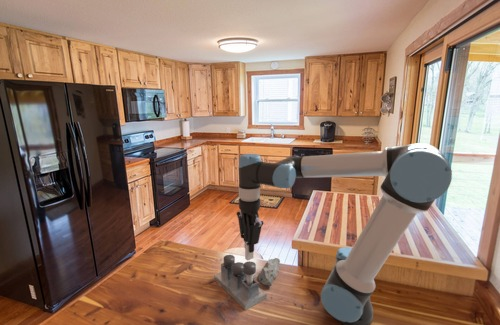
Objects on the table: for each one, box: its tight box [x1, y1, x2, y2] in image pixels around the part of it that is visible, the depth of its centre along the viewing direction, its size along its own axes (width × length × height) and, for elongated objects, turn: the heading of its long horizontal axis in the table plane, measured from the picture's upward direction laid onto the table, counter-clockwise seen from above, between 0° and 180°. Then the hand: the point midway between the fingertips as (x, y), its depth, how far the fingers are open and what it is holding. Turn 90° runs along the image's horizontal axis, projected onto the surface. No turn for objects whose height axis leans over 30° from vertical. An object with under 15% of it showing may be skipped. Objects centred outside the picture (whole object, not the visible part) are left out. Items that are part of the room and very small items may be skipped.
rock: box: [257, 257, 281, 287], centre depth 113 cm, size 16×7×7 cm, turn 158°
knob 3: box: [243, 260, 257, 286], centre depth 98 cm, size 5×5×10 cm
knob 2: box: [233, 261, 244, 276], centre depth 104 cm, size 5×5×10 cm
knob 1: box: [223, 254, 236, 268], centre depth 110 cm, size 5×5×10 cm
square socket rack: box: [214, 262, 267, 311], centre depth 105 cm, size 22×10×7 cm, turn 38°
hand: (249, 258), depth 97 cm, fingers closed
